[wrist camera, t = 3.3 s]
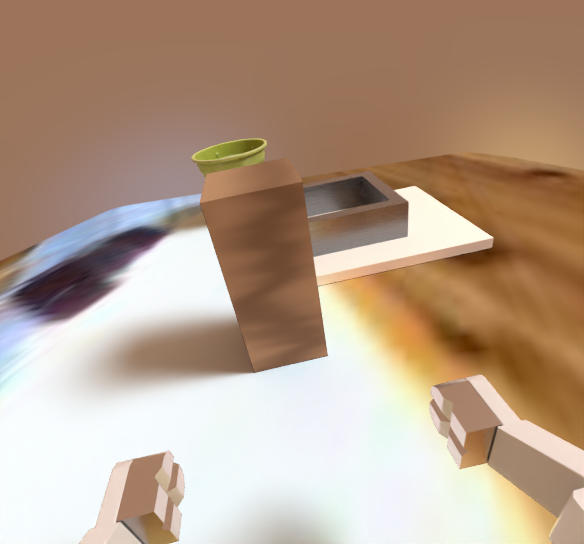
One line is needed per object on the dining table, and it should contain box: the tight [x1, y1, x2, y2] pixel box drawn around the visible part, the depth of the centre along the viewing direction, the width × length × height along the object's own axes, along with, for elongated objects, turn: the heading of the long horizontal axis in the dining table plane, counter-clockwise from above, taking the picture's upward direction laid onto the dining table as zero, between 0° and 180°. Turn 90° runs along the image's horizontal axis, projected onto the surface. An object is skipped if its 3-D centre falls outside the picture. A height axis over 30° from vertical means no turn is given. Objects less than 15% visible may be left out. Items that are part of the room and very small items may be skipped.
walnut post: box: [200, 158, 328, 373], centre depth 22 cm, size 5×5×12 cm
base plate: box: [310, 186, 493, 286], centre depth 36 cm, size 17×15×1 cm
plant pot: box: [192, 139, 267, 178], centre depth 44 cm, size 9×9×9 cm
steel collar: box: [303, 171, 409, 257], centre depth 35 cm, size 10×10×4 cm
